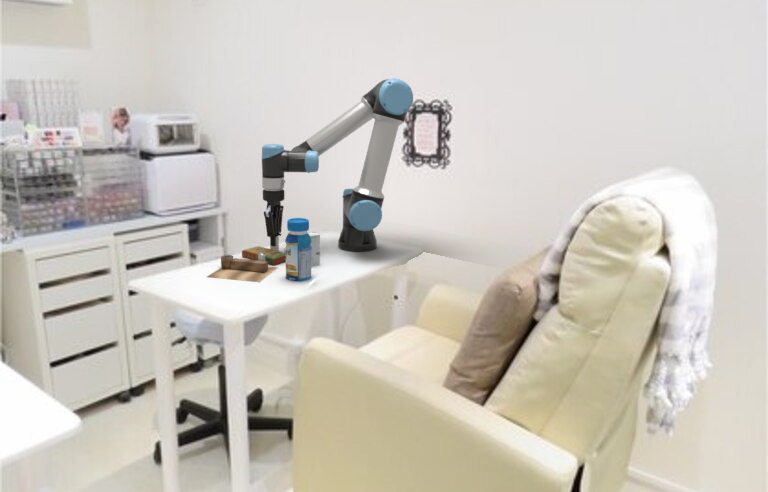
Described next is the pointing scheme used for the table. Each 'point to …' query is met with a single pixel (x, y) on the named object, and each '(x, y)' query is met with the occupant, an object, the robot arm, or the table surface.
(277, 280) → the table surface
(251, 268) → the leg bar
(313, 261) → the skincare box
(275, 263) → the carton
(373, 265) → the table surface
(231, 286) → the table surface
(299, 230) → the beverage bottle
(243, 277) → the frame board
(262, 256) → the stop peg
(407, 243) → the table surface
